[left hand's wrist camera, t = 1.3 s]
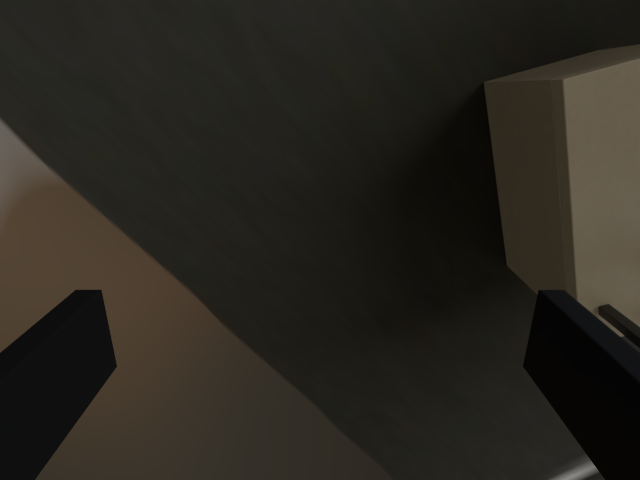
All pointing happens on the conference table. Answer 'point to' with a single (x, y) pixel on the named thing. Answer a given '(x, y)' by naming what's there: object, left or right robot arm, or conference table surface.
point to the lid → (602, 190)
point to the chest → (534, 165)
